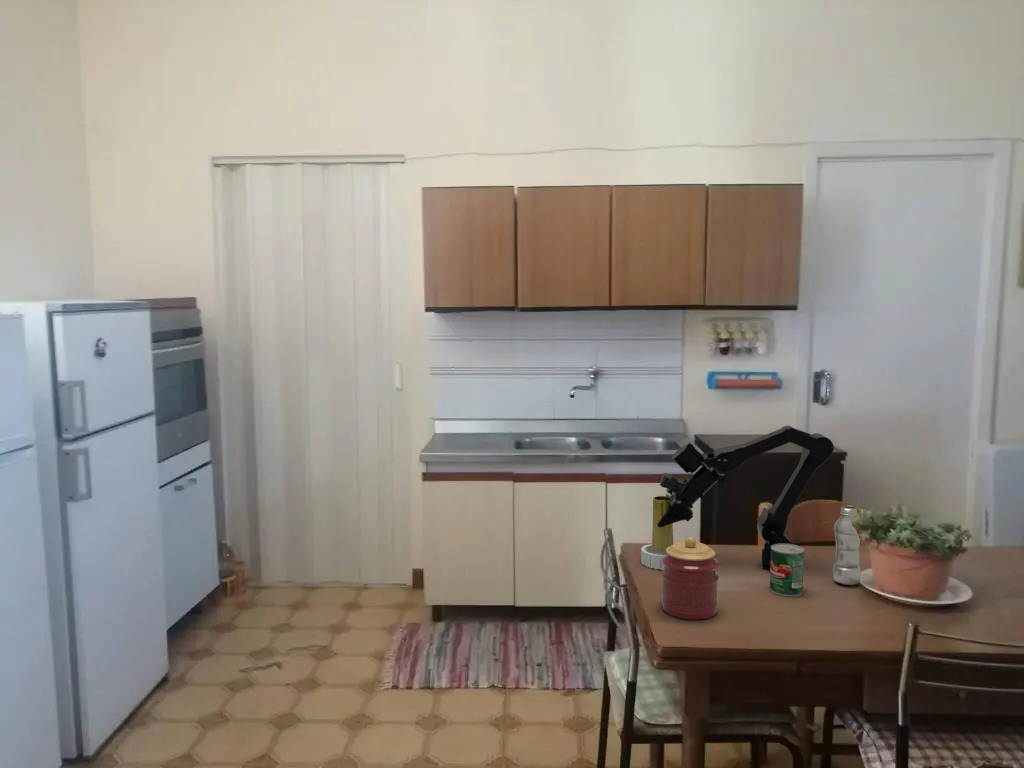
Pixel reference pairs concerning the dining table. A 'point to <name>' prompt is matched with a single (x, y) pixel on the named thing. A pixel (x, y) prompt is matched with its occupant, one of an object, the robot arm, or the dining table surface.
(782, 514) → the robot arm
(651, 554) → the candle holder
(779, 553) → the canned tomato
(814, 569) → the dining table surface
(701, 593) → the canister
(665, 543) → the vase
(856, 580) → the plastic bottle
